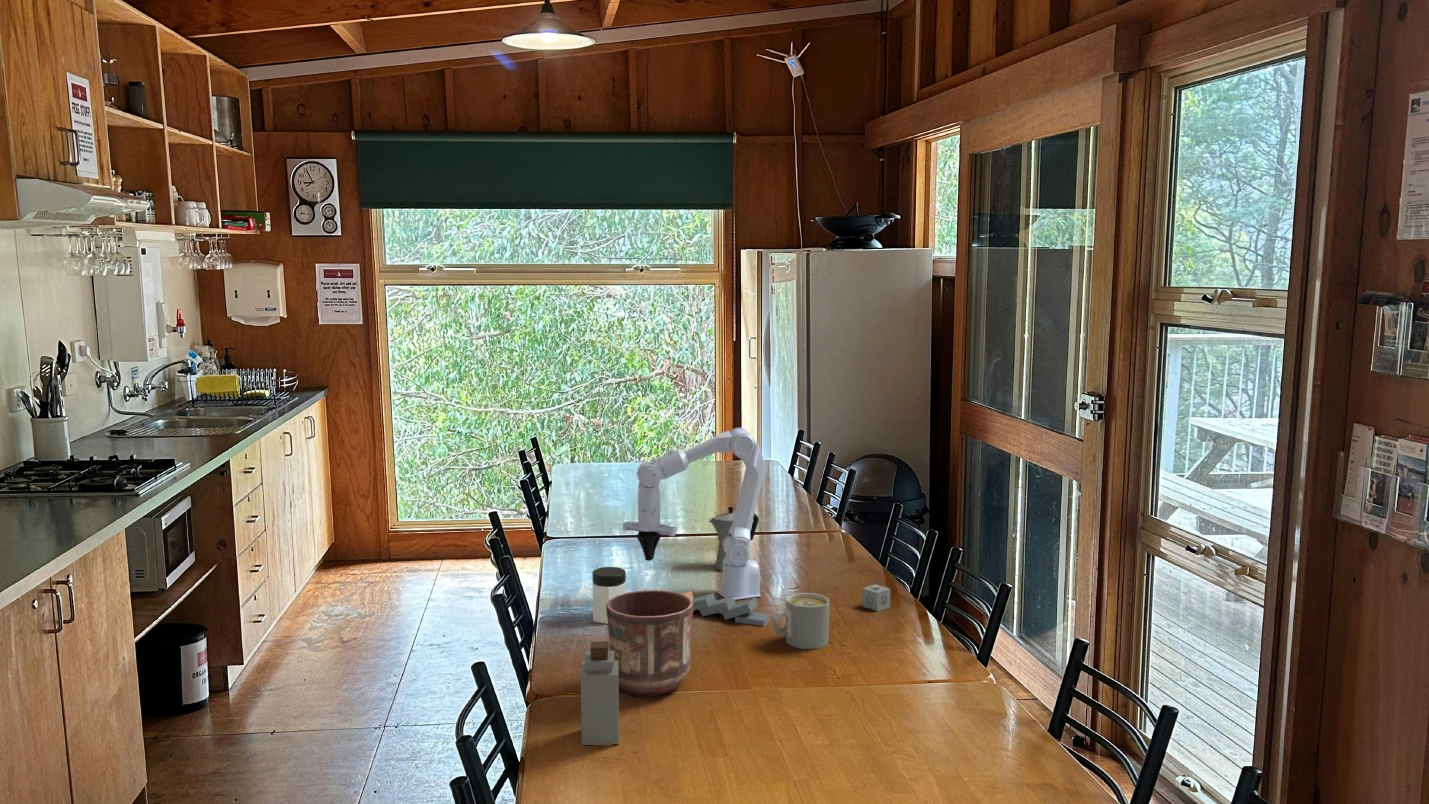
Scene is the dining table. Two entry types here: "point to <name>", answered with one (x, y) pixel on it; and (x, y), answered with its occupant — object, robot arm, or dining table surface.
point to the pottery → (650, 640)
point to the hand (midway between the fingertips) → (649, 559)
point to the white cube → (876, 597)
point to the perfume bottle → (599, 696)
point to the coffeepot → (723, 527)
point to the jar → (606, 589)
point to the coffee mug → (804, 621)
